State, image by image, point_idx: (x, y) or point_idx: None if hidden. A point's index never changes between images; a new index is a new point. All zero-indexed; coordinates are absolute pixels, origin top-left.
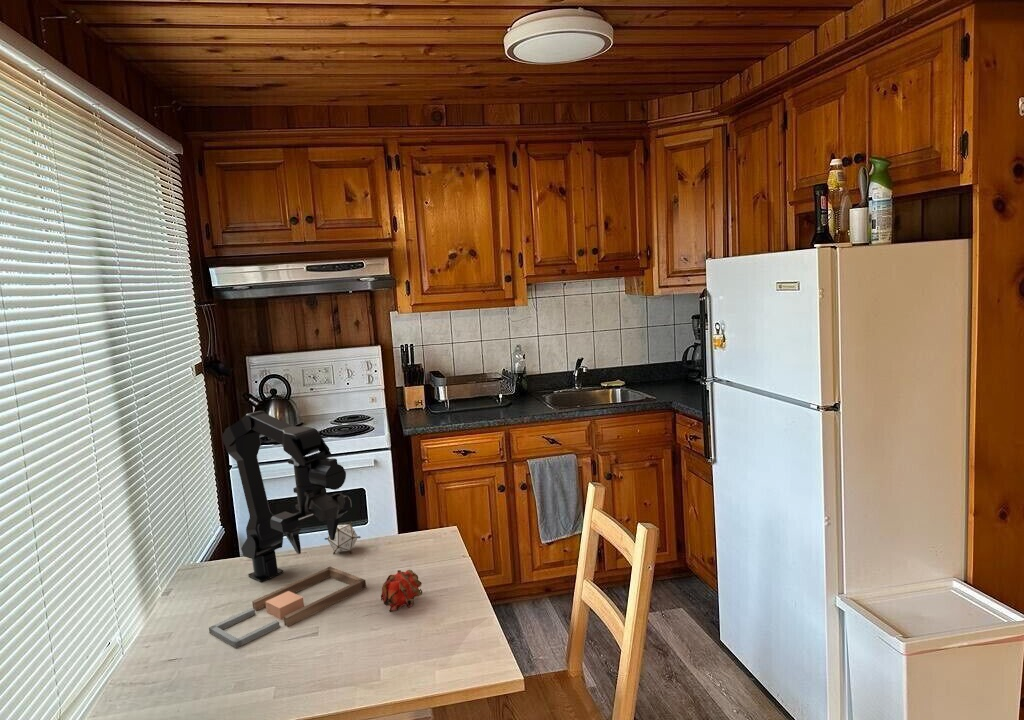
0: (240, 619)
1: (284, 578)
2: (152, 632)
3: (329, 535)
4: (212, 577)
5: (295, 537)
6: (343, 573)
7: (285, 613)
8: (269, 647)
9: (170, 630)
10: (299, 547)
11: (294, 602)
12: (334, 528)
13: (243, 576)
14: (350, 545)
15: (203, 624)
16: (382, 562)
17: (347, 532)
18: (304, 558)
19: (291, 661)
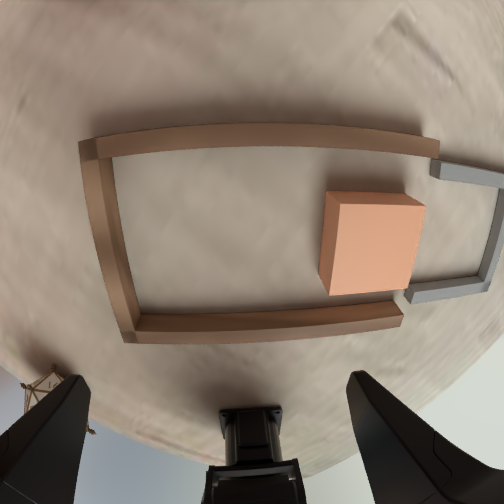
0: (441, 283)
1: (235, 391)
2: (480, 353)
3: (85, 416)
4: (311, 452)
5: (461, 464)
6: (109, 265)
7: (396, 197)
8: (487, 98)
9: (475, 342)
10: (384, 402)
11: (374, 202)
12: (31, 431)
13: (281, 436)
14: (46, 379)
15: (457, 325)
16: (2, 261)
17: None
18: (150, 421)
19: (481, 8)
